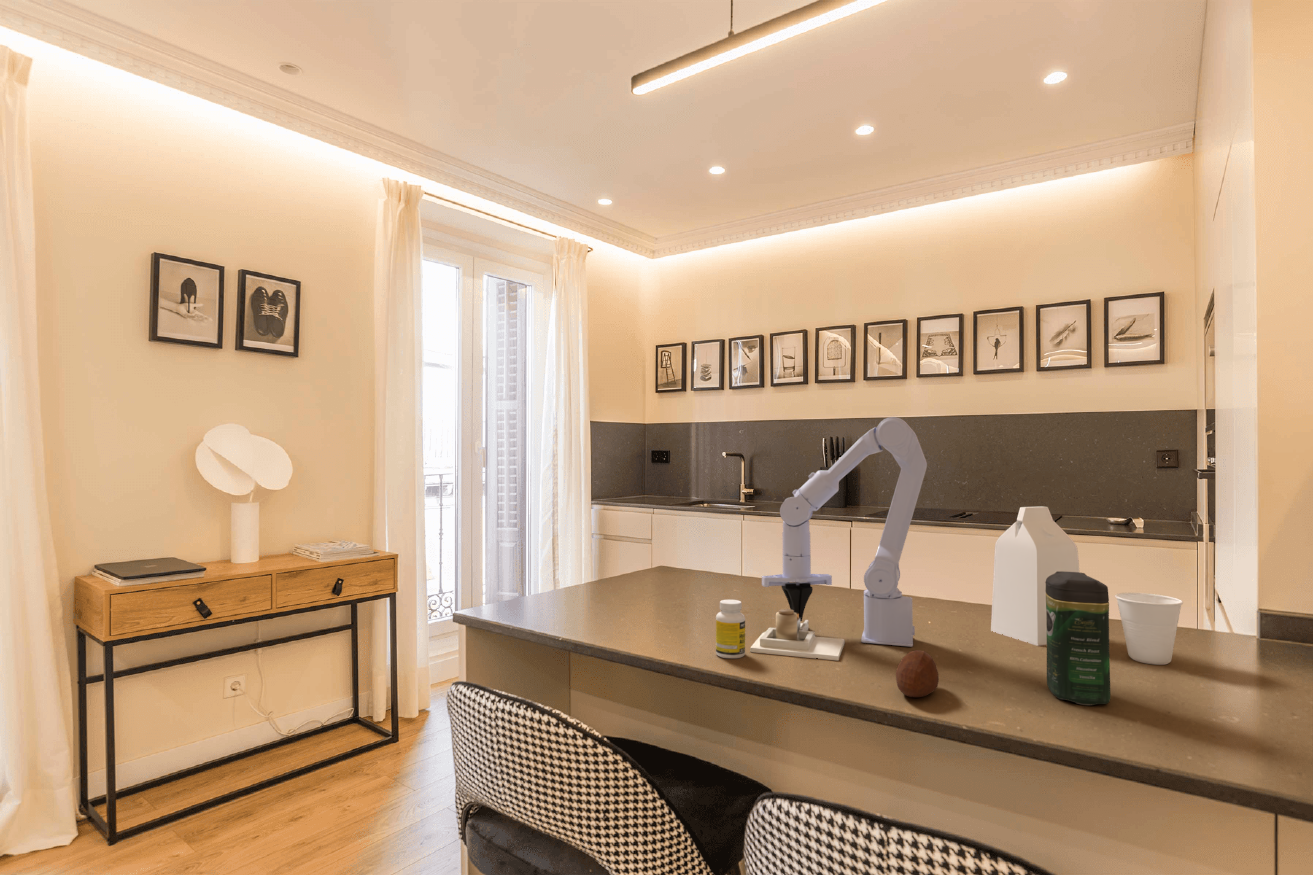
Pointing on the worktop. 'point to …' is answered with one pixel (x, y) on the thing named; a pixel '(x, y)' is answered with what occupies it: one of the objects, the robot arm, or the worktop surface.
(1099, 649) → the coffee jar
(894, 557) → the robot arm
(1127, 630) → the cup
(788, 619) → the beige lidded canister
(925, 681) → the potato
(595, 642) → the worktop surface
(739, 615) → the supplement bottle
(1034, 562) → the milk
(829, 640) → the dock
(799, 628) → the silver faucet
